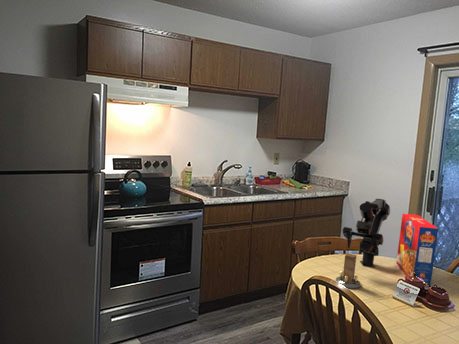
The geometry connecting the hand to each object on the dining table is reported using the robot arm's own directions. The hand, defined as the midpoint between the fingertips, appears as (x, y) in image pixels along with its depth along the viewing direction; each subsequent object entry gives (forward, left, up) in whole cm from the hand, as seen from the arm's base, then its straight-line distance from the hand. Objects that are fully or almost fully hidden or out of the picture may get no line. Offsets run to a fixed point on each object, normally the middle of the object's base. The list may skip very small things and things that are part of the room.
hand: (357, 250), depth 178 cm
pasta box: (-12, +32, -14) cm, 37 cm away
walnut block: (+9, -5, -12) cm, 16 cm away
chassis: (+9, -5, -14) cm, 17 cm away
